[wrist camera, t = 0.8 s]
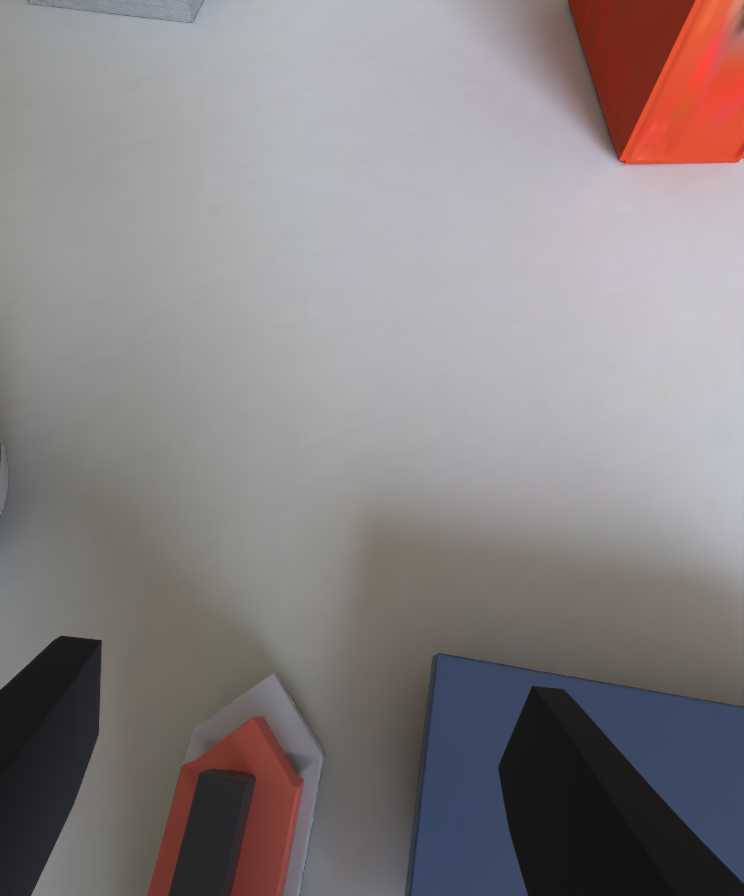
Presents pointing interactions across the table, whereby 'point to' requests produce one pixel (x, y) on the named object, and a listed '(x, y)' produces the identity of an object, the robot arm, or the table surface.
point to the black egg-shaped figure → (3, 476)
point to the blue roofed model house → (133, 7)
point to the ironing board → (486, 737)
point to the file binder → (668, 76)
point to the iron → (243, 801)
